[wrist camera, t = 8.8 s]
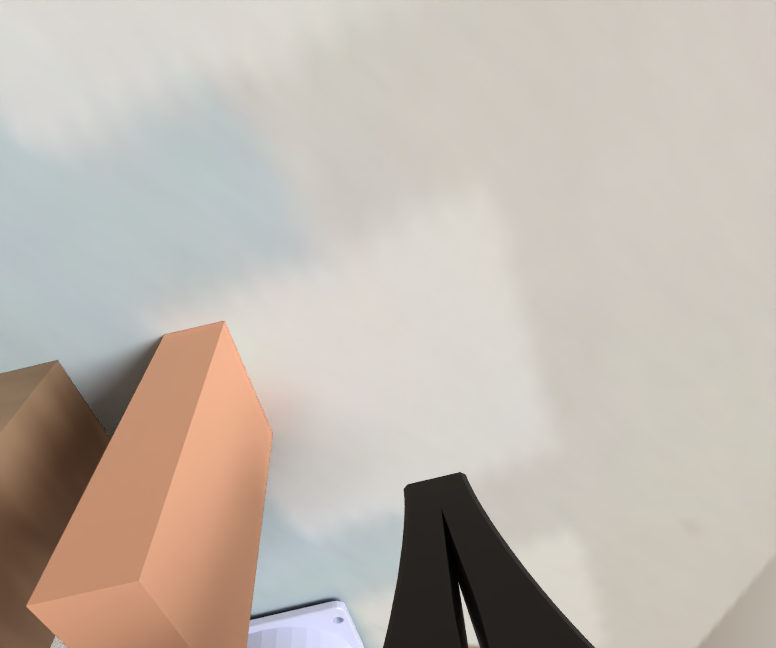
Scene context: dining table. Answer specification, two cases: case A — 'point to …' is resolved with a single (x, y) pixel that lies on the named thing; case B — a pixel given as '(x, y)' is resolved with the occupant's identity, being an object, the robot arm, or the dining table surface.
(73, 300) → the dining table surface
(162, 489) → the terracotta domino
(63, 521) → the walnut domino
